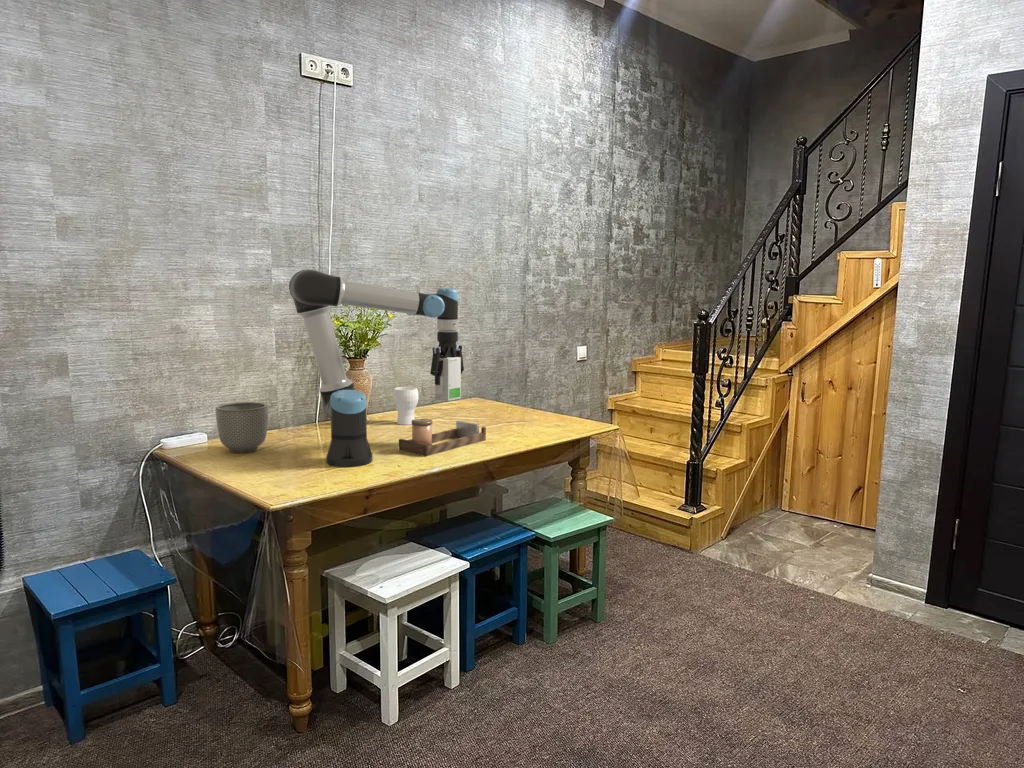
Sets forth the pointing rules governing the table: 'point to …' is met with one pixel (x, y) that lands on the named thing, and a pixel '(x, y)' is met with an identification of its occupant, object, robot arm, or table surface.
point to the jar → (422, 431)
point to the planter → (242, 425)
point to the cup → (405, 404)
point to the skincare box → (450, 379)
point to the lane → (441, 447)
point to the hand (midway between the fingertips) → (447, 392)
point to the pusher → (466, 429)
